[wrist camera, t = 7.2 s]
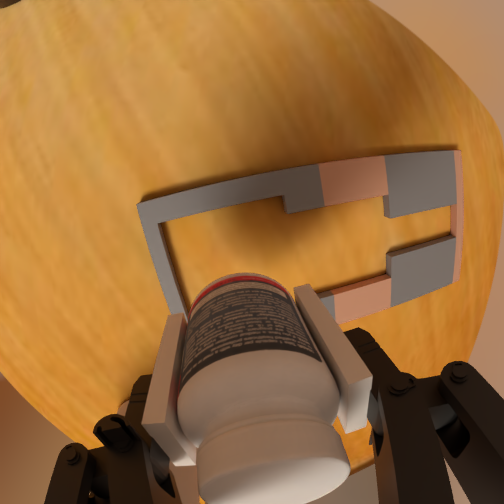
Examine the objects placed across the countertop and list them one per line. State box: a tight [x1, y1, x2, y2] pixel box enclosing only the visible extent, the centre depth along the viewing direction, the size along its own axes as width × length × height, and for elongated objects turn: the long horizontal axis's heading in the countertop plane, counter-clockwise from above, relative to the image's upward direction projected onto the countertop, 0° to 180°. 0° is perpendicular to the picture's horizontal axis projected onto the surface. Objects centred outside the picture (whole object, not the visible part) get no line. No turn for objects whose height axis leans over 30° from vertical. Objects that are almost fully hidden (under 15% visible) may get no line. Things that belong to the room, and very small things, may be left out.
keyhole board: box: [136, 150, 464, 325], centre depth 19 cm, size 12×25×1 cm, turn 101°
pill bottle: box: [177, 273, 351, 504], centre depth 9 cm, size 5×5×9 cm
